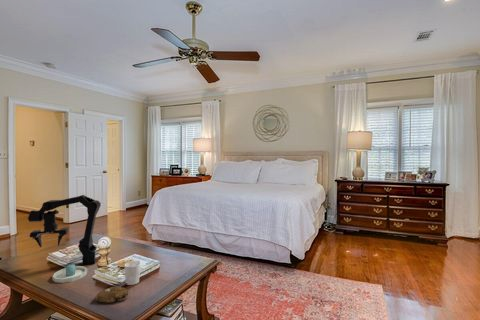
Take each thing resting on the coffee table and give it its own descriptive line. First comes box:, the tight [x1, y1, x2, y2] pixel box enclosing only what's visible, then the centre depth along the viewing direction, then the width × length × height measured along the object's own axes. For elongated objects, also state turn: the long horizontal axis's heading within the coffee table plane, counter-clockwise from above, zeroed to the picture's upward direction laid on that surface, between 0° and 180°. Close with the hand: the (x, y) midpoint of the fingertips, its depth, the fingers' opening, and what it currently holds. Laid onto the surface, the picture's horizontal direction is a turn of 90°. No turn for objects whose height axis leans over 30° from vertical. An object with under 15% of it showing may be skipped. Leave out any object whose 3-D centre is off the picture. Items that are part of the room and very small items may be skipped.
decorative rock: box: [94, 286, 130, 303], centre depth 126 cm, size 11×4×15 cm
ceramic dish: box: [52, 265, 88, 284], centre depth 148 cm, size 16×16×2 cm
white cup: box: [124, 260, 141, 286], centre depth 141 cm, size 8×8×10 cm
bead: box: [65, 263, 76, 277], centre depth 148 cm, size 4×4×5 cm
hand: (49, 246), depth 161 cm, fingers open, 9 cm apart
